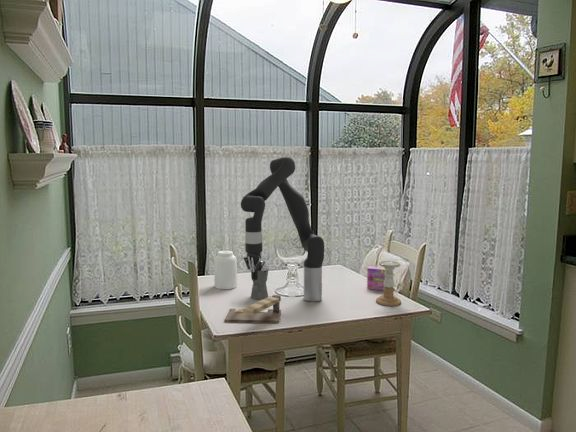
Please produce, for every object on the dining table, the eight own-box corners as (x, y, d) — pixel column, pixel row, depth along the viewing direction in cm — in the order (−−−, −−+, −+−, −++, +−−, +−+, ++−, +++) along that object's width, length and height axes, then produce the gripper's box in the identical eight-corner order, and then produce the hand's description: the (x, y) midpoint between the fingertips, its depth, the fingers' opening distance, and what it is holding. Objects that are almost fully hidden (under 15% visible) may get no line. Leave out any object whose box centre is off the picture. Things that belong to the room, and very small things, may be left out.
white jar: (237, 283, 276) (237, 249, 274) (236, 289, 264) (235, 253, 261) (215, 283, 276) (215, 249, 273) (213, 290, 263) (212, 253, 261)
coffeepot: (274, 298, 248) (274, 264, 246) (258, 301, 243) (258, 266, 241) (258, 291, 261) (258, 258, 259) (243, 294, 256) (243, 260, 254)
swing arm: (274, 298, 227) (274, 294, 227) (283, 300, 224) (283, 296, 224) (242, 313, 206) (242, 308, 206) (252, 315, 204) (252, 310, 203)
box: (366, 288, 268) (367, 267, 266) (369, 286, 273) (369, 265, 271) (385, 290, 264) (386, 269, 262) (387, 288, 269) (388, 267, 268)
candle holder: (382, 307, 236) (384, 266, 233) (371, 299, 248) (372, 261, 245) (405, 305, 239) (407, 265, 237) (393, 298, 251) (395, 259, 248)
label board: (280, 312, 228) (280, 299, 227) (279, 323, 213) (279, 309, 212) (230, 311, 229) (229, 298, 228) (224, 322, 214) (224, 308, 213)
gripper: (269, 242, 210) (270, 281, 213) (251, 238, 220) (252, 275, 223) (256, 244, 205) (256, 284, 208) (238, 240, 215) (238, 278, 218)
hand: (254, 279), depth 215 cm, fingers closed
